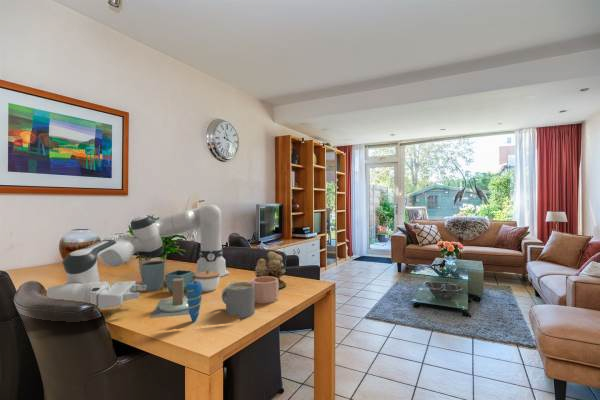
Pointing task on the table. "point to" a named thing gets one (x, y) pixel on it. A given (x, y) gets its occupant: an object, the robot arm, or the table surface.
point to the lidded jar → (208, 280)
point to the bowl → (265, 289)
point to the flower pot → (178, 274)
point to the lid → (176, 298)
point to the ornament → (194, 298)
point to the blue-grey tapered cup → (152, 275)
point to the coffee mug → (239, 299)
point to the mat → (159, 313)
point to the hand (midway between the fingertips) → (143, 291)
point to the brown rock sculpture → (271, 268)
